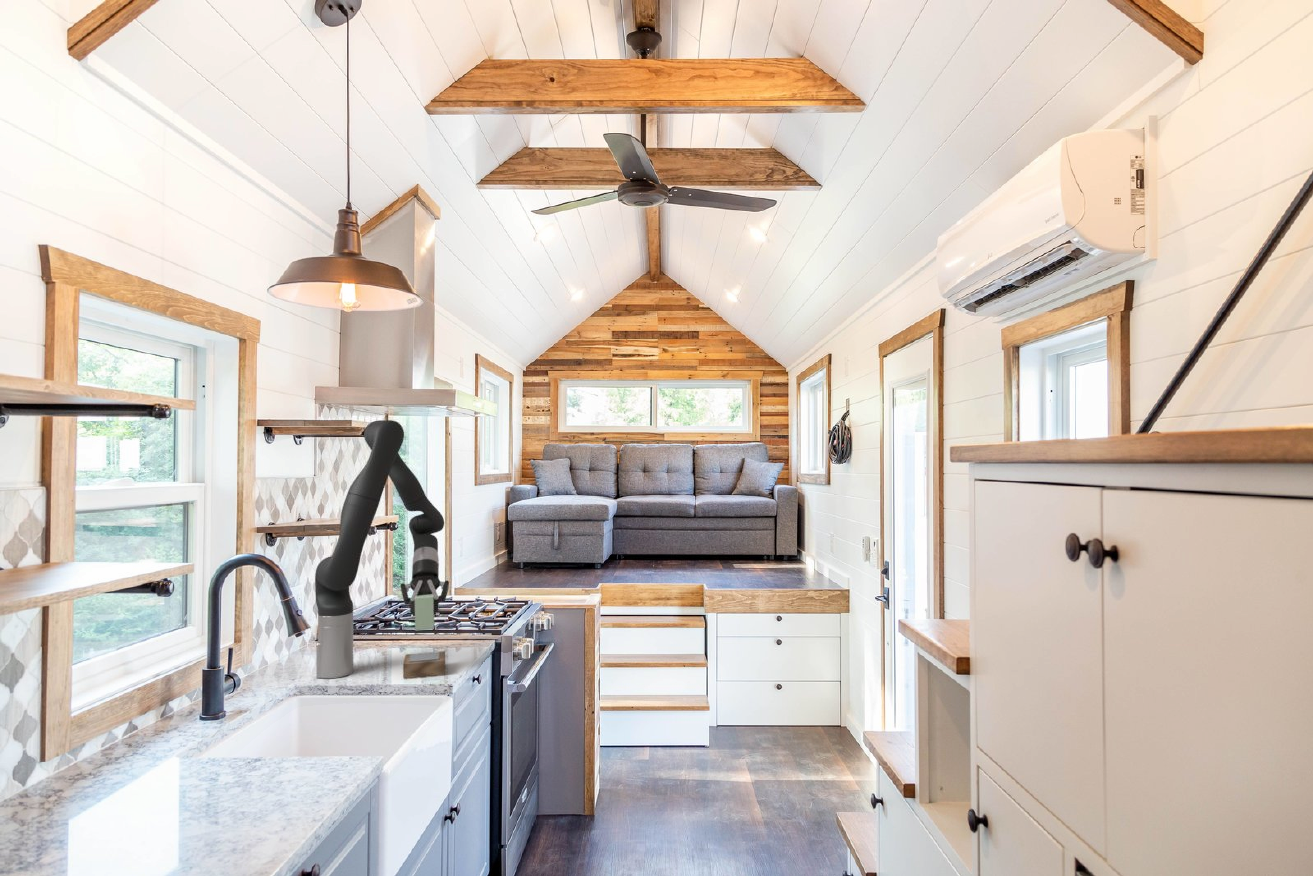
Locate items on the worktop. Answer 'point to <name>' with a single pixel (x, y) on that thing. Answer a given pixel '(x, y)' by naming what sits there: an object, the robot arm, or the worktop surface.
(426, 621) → the sage block
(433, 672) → the block
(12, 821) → the worktop surface
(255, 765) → the worktop surface
